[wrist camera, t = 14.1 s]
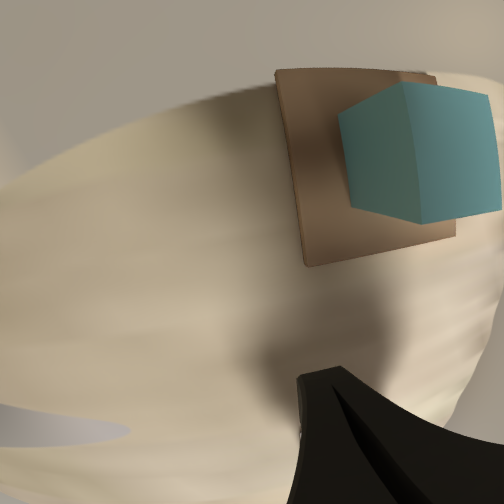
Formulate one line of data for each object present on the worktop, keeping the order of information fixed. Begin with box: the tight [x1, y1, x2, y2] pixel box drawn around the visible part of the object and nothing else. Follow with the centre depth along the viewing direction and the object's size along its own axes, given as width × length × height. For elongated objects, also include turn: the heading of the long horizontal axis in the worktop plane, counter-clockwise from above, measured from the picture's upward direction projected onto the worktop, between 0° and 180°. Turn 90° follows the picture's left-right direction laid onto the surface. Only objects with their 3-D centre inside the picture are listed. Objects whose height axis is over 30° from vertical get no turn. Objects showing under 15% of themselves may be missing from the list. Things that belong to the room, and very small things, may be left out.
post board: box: [274, 68, 456, 267], centre depth 13 cm, size 11×11×5 cm
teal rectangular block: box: [338, 81, 502, 225], centre depth 12 cm, size 5×5×7 cm
